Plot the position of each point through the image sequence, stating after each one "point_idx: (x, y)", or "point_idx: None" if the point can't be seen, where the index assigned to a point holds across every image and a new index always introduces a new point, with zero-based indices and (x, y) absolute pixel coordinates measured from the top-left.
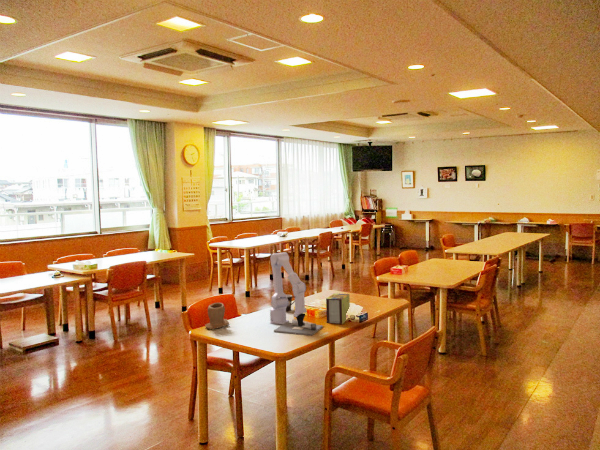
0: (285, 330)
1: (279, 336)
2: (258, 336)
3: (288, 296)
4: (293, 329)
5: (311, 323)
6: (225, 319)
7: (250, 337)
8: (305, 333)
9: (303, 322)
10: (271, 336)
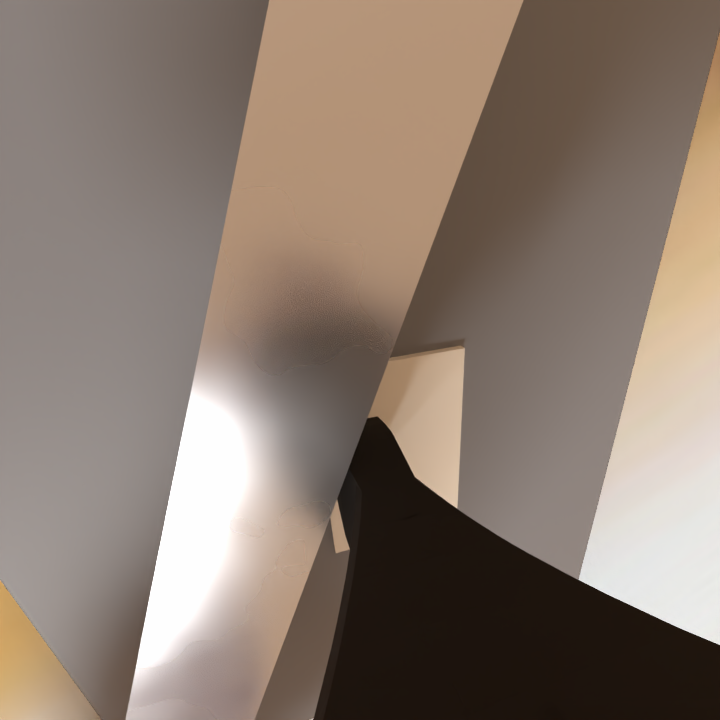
0: (552, 531)
1: (701, 460)
2: (687, 601)
3: None
4: (483, 474)
5: (370, 24)
6: None
7: (708, 621)
8: (697, 107)
9: (350, 457)
10: (695, 523)
